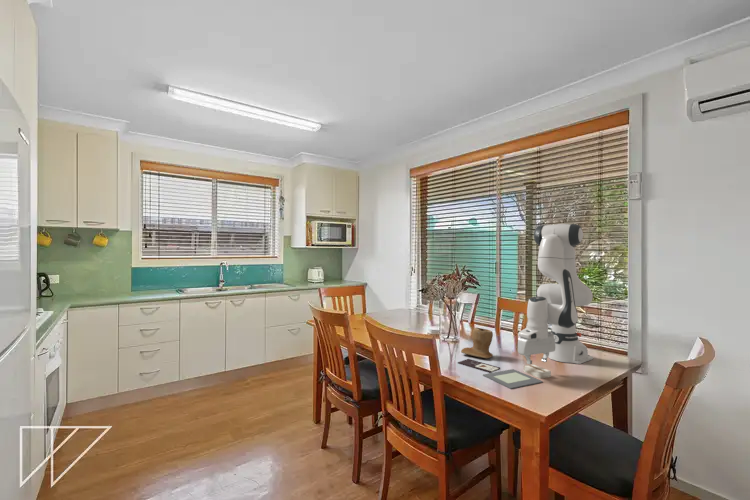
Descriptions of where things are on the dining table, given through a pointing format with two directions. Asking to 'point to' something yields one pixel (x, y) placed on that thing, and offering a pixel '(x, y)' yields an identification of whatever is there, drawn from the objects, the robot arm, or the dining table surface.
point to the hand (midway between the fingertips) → (536, 363)
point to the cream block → (537, 371)
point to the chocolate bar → (479, 365)
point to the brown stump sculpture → (480, 343)
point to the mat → (512, 378)
